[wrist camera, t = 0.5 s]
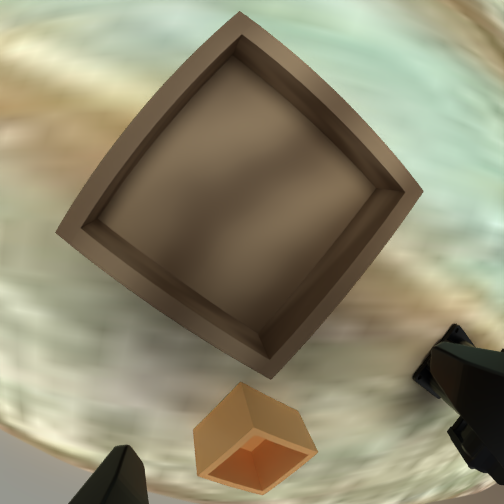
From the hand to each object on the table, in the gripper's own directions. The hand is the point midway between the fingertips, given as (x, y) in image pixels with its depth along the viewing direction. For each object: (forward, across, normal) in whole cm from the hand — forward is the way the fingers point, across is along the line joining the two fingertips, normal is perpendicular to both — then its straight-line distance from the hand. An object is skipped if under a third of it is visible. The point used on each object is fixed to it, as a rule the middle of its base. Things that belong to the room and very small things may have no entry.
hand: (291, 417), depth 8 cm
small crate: (+13, +2, +12) cm, 18 cm away
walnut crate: (+13, -2, -4) cm, 14 cm away
